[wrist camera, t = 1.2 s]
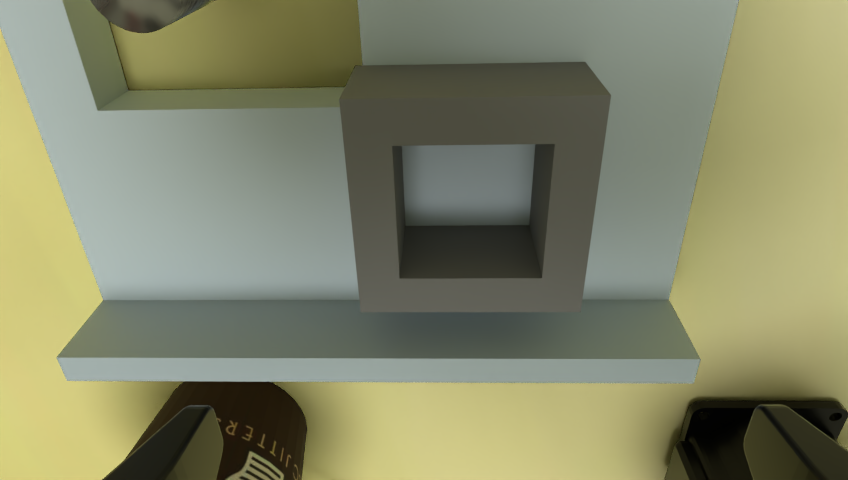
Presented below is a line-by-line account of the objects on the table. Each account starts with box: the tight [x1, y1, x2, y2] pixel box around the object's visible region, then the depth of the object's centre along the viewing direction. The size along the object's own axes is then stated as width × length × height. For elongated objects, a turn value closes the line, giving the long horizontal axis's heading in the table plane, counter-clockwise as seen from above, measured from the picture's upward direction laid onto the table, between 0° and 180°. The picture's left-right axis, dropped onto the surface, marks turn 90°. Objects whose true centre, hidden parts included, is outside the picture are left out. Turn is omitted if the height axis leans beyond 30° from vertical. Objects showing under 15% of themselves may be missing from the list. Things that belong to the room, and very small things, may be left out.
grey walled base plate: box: [0, 0, 739, 383], centre depth 17 cm, size 20×16×5 cm
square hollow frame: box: [339, 62, 611, 312], centre depth 17 cm, size 6×6×3 cm
